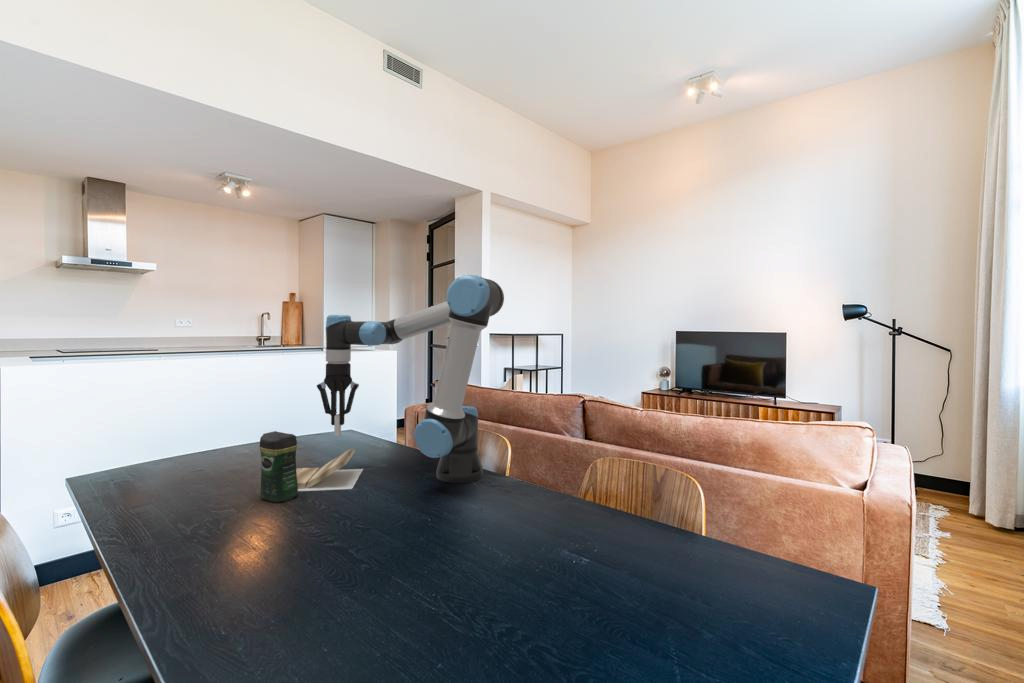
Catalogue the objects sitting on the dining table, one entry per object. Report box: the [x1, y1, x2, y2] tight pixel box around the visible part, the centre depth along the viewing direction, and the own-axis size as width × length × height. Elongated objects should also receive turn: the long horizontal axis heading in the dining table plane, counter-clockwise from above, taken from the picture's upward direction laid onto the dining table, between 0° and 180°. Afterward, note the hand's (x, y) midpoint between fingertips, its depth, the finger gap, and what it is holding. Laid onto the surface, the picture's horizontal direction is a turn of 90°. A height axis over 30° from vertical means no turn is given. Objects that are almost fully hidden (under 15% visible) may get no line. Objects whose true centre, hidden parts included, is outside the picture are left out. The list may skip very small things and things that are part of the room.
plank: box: [307, 447, 356, 487], centre depth 147 cm, size 12×16×2 cm
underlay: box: [298, 468, 364, 492], centre depth 147 cm, size 25×20×1 cm
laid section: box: [296, 467, 320, 489], centre depth 145 cm, size 11×16×2 cm
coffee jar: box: [259, 430, 299, 503], centre depth 131 cm, size 10×8×19 cm
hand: (337, 434), depth 151 cm, fingers closed
